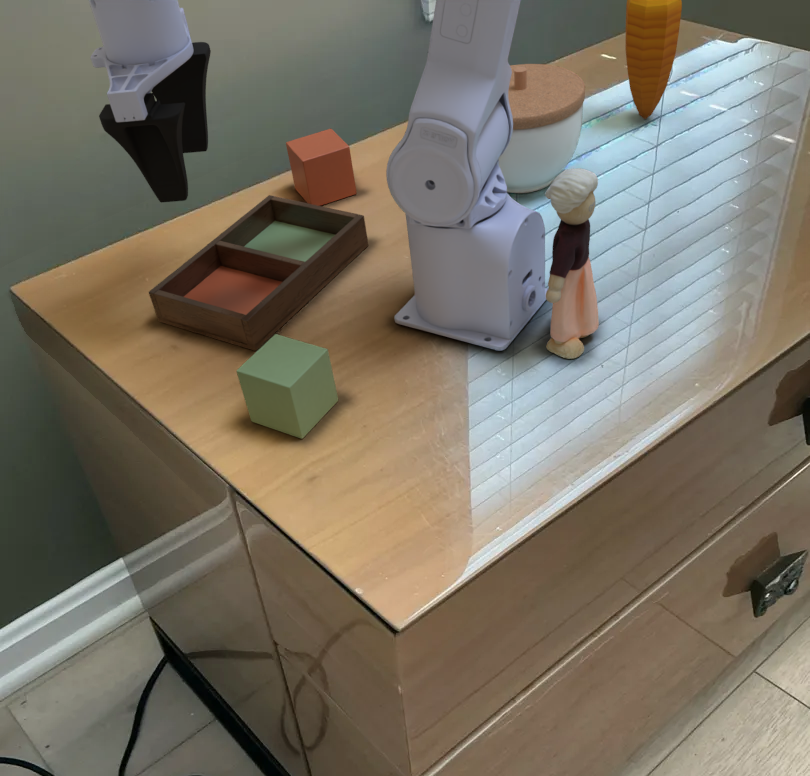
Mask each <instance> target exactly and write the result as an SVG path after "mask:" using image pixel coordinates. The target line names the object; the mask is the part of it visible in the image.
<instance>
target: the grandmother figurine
mask: <svg viewBox="0 0 810 776" xmlns="http://www.w3.org/2000/svg"><path fill="white" fill-rule="evenodd" d="M598 184H599V178H598V176H597V175H596V173H594V172H593V171H591V170H588V169H585V168H580V167H578V168H574V167H573V168H567V169H565V170H562V171H561V172H560V173H559V174H558V175H557V176H556V178H555V179H554V181H553V182H552V183H551V184H550V185H549V187H548V188H547V189H546V190H545V192H544V196H545V197H546V199H547V200H550V204H551V206H552V208H553V209H554V211H555V212H556V214H557V217H558V218H559V220H560V221H559V225H558V227H557V230H556V232H555V234H554V235H553V239H552V253H551V254H552V255H551V257H552V260H551V265H550V269H549V276H548V277H549V278H548V282H547V286H548V288H547V289H548V290H547V292H546V301H547V302H548V303H550V304H552V307H551V319H550V330H549V331H550V332H549V333H550V338H549V340H548V341H547V343H546V346H545V347H546V350H547V351H549V352H550V353H552V354H555V355H557V356H558V357H561V358H563V359H569V360H570V359H571V360H573V359H576V358H578V357H580V356H581V355H583V353H584V352H585V346H584V343H583V341H581V340H580V339H583V338H587V337H588V336H589V335H592V334H594V333H595V332H596V331H597V330H598V329H599V325H600V324H599V323H600V322H599V307H598V298H597V291H596V287H595V282H594V275H593V270H592V263H591V259H590V242H591V222H590V219H591V217H592V216H593V214H594V212H595V209H596V196H595V194H594V192H595V191H596V190H597V188H598V186H599V185H598Z"/></svg>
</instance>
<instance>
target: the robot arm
mask: <svg viewBox="0 0 810 776" xmlns="http://www.w3.org/2000/svg"><path fill="white" fill-rule="evenodd" d="M87 1H88V4H89V6H90V9H91V13H92V16H93V19H94V22H95V25H96V28H97V31H98V35H99V37H100V41H101V43H102V46H100V47H96V48H95V49H94V50H93V52H92V53H91V55H90V57H89V58H90V62H91V64H92V67H93V68H95V69H96V68H97V69H101V68H105V69H106V73H107V77H108V81H109V87H108V90H107V92H106V96H107V99H108V100H107V101H108V102H109V103H107V104H105V105H104V107H103V108H102V110H101V111H100V113H99V114H98V118H99V121H100V124H101V127H102V129H103V130H104V132H105V133H106V134H108V135H109V136H110V137H111V138H113V139H114V140H115V141H116V143H118V144H119V145H120V147H121V148H122V149H123V150H124V151H125V152H126V153H127V154H128V155H129V157H130V158H131V159H132V161H133V162H134V164H135V165H136V167H137V168H138V169H139V171H140V172H141V174H142V176H143V177H144V179H145V181H146V182H147V184H148V186H149V188H150V189H151V191H152V192H153V194H154V195H155V197H156V198H157V200H158V201H159V203H161V204H162V203H173V202H174V203H175V202H184V201H187V200H188V196H189V183H188V182H189V181H188V175H187V174H188V173H187V169H186V162H185V157H184V154H190V153H201V152H202V153H203V152H208V149H209V129H208V118H207V117H208V115H207V76H208V68H209V63H210V59H211V53H212V52H211V51H212V50H211V47H210V44H209V43H208V42H205V41H195V42H192V38H191V36H190V35H191V33H190V28H189V25H188V22H187V18H186V14H185V10H184V7H180V4H179V0H87ZM521 1H522V0H435V6H434V11H433V18H432V24H431V31H430V38H429V43H428V51H427V56H426V62H425V66H424V69H423V71H422V74H421V77H420V79H419V82H418V85H417V88H416V91H415V94H414V97H413V100H412V103H411V106H410V109H409V111H408V112H409V113H408V119H407V126H406V129H405V131H404V134H403V136H402V138H401V140H400V141H399V142H398V143H397V144H396V145H395V147H394V148H393V149H392V151H391V153H390V155H389V157H388V161H387V164H386V165H387V166H386V170H385V171H386V184H387V189H388V190H389V193H390V196H391V197H392V199H393V201H394V202H395V204H396V205H397V206H398V208H399V209H400V210H401V211H402V212H403V213H404V214H405V222H406V231H407V240H408V248H409V256H410V266H411V272H412V282H413V290H414V295H413V296H412V297H411V298H410V299H409V300H408V301H407V302H406V303H405V305H403V306H402V307H401V308H400V310H399V311H397V313H396V314H394V323H395V324H398V325H402V326H405V327H409V328H412V329H416V330H420V331H423V332H427V333H431V334H435V335H438V336H443V337H447V338H450V339H453V340H457V341H461V342H465V343H469V344H472V345H476V346H478V347H484V348H487V349H491V350H494V351H497V352H500V351H505V350H506V349H507V348H508V347H509V346H510V344H511V343H512V342H513V341H514V340H515V338H517V336H518V335H519V333H520V332H521V331H522V330H523V328H524V327H526V325H527V324H528V322H529V321H530V320H531V319H532V317H533V316H534V315H535V314H536V313H537V311H538V310H539V309H540V308H541V307H542V306H543V304H544V303H545V302H546V301H547V299H546V292H547V290H548V288H547V287H546V228H545V222H544V219H543V217H542V215H541V213H540V212H539V211H536V210H534V209H531V208H529V207H527V206H525V205H523V204H520V203H519V202H518V201H516V200H515V199H514V198H513V197H511V196H510V194H509V193H508V192H507V185H506V183H505V179H504V176H503V174H502V171H501V169H500V167H499V159H498V158H499V157H500V156H501V155H502V154H503V152H504V151H505V149H506V148H507V146H508V144H509V142H510V140H511V136H512V132H513V117H512V113H511V109H510V105H509V99H508V90H509V84H510V79H511V75H512V70H511V67H510V63H509V56H510V51H511V47H512V43H513V38H514V32H515V29H516V25H517V19H518V14H519V11H520V6H521Z"/></svg>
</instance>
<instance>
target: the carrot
mask: <svg viewBox="0 0 810 776" xmlns="http://www.w3.org/2000/svg"><path fill="white" fill-rule="evenodd" d="M682 9H683V1H682V0H626V7H625V45H624V46H625V47H624V48H625V50H624V51H625V57H626V58H625V59H626V71H627V77H628V84H629V90H630V93H631V97H632V100H633V103H634V106H635V108H636V110H637V113H638V115H639V116H640V117H641V118H642V120H648V118H649V117H650V116H652V115H653V113H654V111H655V110H656V109H657V107H658V105H659V104H660V101H661V99H662V97H663V95H664V93H665V91H666V88H667V87H668V83H669V79H670V76H671V73H672V69H673V66H674V62H675V58H676V53H677V47H678V41H679V34H680V27H681V18H682Z"/></svg>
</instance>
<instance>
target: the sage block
mask: <svg viewBox="0 0 810 776" xmlns="http://www.w3.org/2000/svg"><path fill="white" fill-rule="evenodd" d="M236 374H237V375H236V376H237V379H238V382H239V385H240V388H241V391H242V395H243V398H244V401H245V405H246V408H247V411H248V415H249V419H250V422H251V423H255V424H258V425H260V426H263V427H266V428H269V429H272V430H275V431H277V432H281V433H284V434H286V435H288V436H289V435H290V436H292V437H295V438H298V439H301V440H302V439H304V438H305V437H306V436H307V435H308V434H309V433H310V431H311V430H313V429H314V427H315V426H316V425H317V424H319V422H320V421H321V420H322V419H323V418H324V417H325V415H327V413H329V411H330V410H331V409H332V408H333V407H334V406H335V405H336V404H337V403H338V402H339V396H338V391H337V386H336V382H335V377H334V371H333V366H332V363H331V357H330V352H329V349H328V348H326V347H323V346H319V345H315V344H312V343H309V342H305V341H302V340H299V339H295V338H291V337H288V336H284V335H281V334H277V333H274V334H273V335H272V336H271V337H270V338H269V339H268V340H267V341H266V342H265V343H264V344H263V345H262V346H261V347H259V348H258V349H257V350H256V351H255V352H254V353H253V354H252V355H251V356H250V357H249V358H248V359H247V360H246V361H245V362H244V363H242V365H241V366H240V367H238V368H237V369H236Z"/></svg>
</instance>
